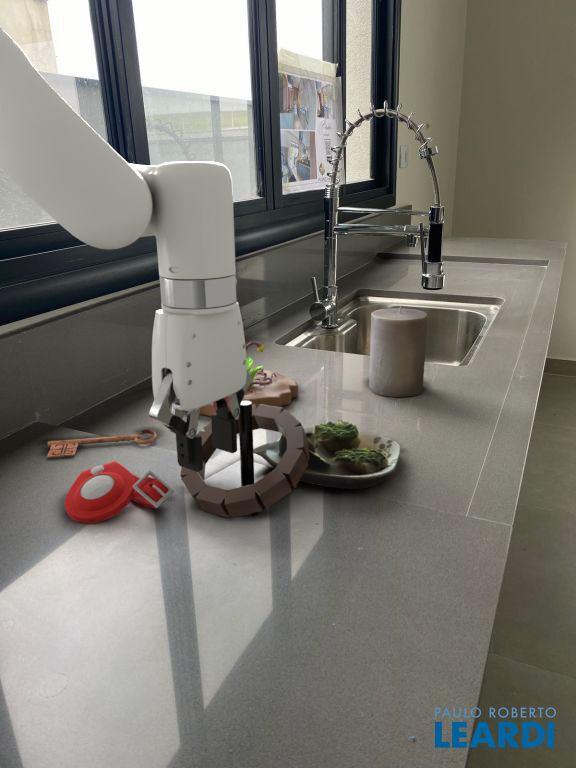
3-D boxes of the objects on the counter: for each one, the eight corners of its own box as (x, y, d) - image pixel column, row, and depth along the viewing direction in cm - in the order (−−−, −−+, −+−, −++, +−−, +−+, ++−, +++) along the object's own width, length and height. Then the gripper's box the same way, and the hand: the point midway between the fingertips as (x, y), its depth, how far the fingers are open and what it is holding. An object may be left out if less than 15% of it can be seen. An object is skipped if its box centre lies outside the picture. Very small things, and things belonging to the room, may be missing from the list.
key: (43, 460, 82) (155, 451, 84) (42, 455, 82) (155, 445, 84) (51, 440, 87) (157, 432, 89) (50, 434, 87) (156, 426, 89)
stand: (195, 494, 72) (189, 406, 69) (243, 466, 79) (240, 385, 76) (253, 516, 67) (250, 423, 64) (299, 485, 74) (299, 399, 71)
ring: (165, 499, 71) (157, 487, 70) (229, 410, 80) (223, 398, 79) (271, 530, 64) (264, 516, 62) (329, 427, 72) (324, 414, 71)
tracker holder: (59, 524, 64) (60, 465, 72) (74, 551, 66) (73, 491, 75) (170, 486, 66) (159, 433, 74) (181, 514, 68) (169, 459, 76)
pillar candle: (433, 388, 108) (439, 305, 103) (403, 402, 102) (408, 314, 97) (388, 376, 115) (392, 298, 110) (357, 389, 108) (359, 306, 103)
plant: (153, 397, 105) (147, 334, 101) (240, 373, 118) (238, 316, 114) (224, 429, 91) (221, 357, 88) (314, 397, 104) (314, 334, 100)
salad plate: (292, 425, 92) (293, 396, 91) (410, 443, 86) (413, 412, 85) (241, 472, 74) (242, 437, 73) (386, 498, 69) (389, 460, 67)
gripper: (226, 278, 69) (232, 426, 75) (105, 302, 56) (124, 479, 62) (279, 284, 65) (281, 440, 71) (161, 311, 52) (176, 500, 58)
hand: (208, 457), depth 66 cm, fingers open, 4 cm apart
